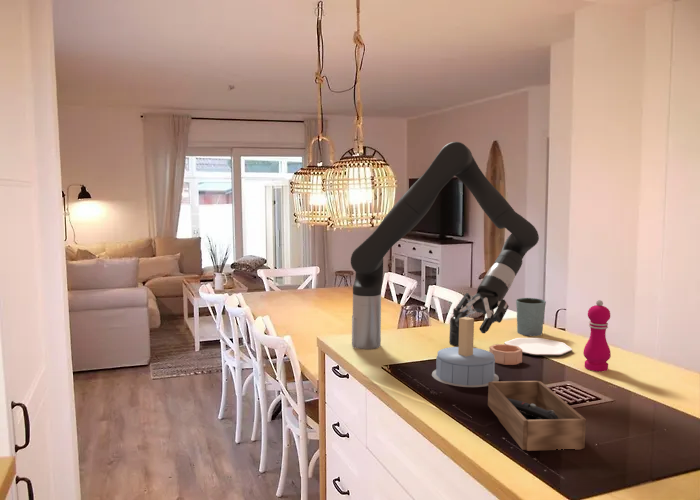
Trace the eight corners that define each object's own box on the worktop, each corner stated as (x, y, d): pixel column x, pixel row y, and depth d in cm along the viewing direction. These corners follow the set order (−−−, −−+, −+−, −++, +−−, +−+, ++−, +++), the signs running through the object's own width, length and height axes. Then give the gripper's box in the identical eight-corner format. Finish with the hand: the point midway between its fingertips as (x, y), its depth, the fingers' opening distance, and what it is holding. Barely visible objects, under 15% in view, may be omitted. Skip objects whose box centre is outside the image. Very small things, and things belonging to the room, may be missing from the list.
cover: (468, 389, 148) (470, 327, 146) (425, 374, 160) (426, 317, 158) (505, 377, 157) (507, 319, 156) (461, 364, 169) (463, 310, 167)
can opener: (567, 438, 120) (568, 412, 120) (541, 444, 117) (542, 417, 117) (510, 408, 136) (511, 385, 136) (486, 413, 133) (486, 390, 133)
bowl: (495, 365, 169) (496, 352, 168) (486, 357, 177) (486, 344, 177) (525, 365, 169) (525, 352, 169) (514, 356, 178) (515, 344, 178)
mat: (439, 389, 149) (439, 387, 149) (426, 367, 167) (426, 366, 167) (508, 387, 150) (508, 386, 150) (487, 366, 168) (487, 365, 168)
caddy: (523, 450, 114) (524, 421, 113) (487, 406, 137) (488, 381, 137) (585, 449, 115) (586, 420, 114) (539, 405, 138) (540, 380, 138)
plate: (525, 339, 201) (525, 334, 201) (580, 350, 187) (580, 345, 187) (494, 349, 187) (494, 345, 187) (551, 362, 173) (552, 357, 173)
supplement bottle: (472, 347, 188) (473, 311, 187) (451, 347, 188) (451, 311, 187) (468, 342, 195) (469, 307, 194) (447, 341, 195) (448, 306, 194)
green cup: (542, 330, 211) (543, 298, 210) (546, 337, 202) (548, 303, 200) (513, 329, 213) (514, 297, 212) (516, 336, 203) (517, 302, 202)
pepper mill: (608, 366, 169) (612, 298, 167) (611, 373, 162) (614, 303, 160) (582, 363, 172) (585, 297, 169) (583, 370, 165) (586, 301, 163)
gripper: (471, 271, 167) (443, 315, 161) (512, 277, 156) (484, 325, 150) (482, 287, 171) (455, 331, 165) (523, 294, 160) (496, 341, 154)
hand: (469, 328), depth 158 cm, fingers open, 8 cm apart
